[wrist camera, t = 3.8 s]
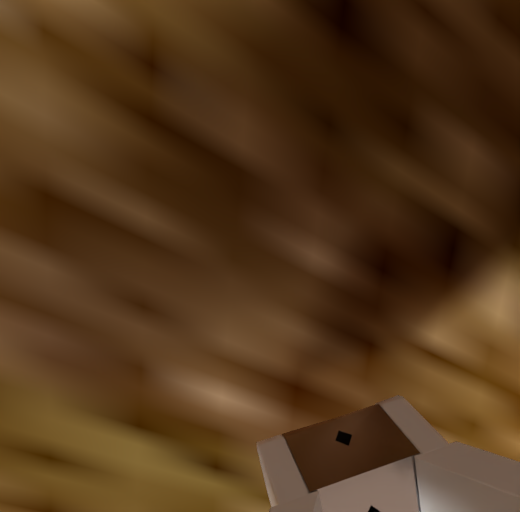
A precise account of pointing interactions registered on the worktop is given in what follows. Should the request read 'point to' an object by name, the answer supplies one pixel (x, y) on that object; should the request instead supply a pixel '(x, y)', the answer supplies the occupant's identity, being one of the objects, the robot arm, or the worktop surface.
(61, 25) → the worktop surface
